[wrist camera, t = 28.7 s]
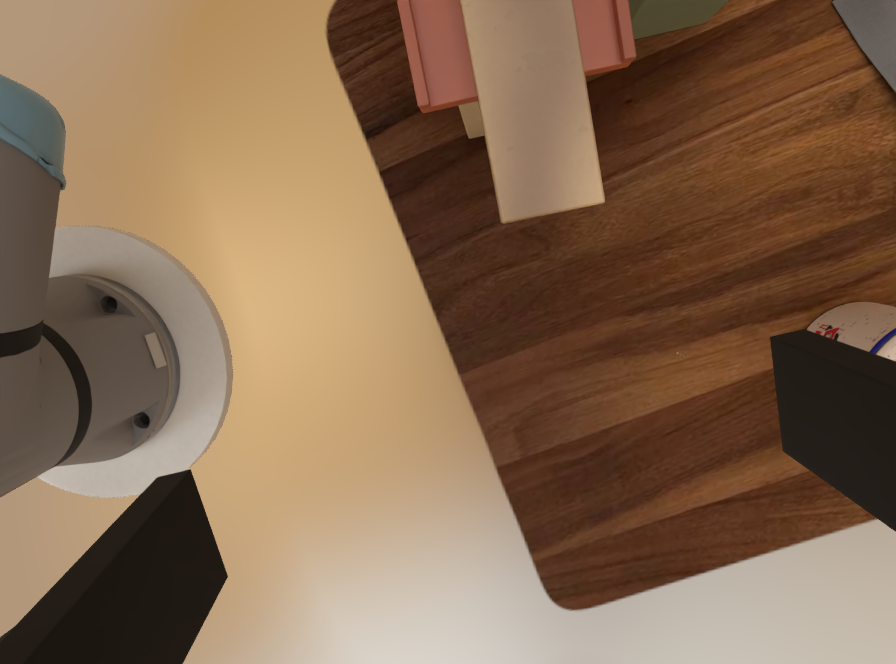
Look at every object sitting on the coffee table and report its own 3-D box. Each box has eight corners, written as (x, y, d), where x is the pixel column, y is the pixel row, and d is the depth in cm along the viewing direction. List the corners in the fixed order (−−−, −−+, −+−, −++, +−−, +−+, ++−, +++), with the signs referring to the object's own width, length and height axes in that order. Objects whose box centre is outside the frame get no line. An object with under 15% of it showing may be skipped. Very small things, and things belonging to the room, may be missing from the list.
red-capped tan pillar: (450, 157, 44) (417, 106, 26) (428, 41, 43) (376, -100, 24) (576, 130, 43) (636, 56, 25) (557, 10, 42) (604, -161, 23)
